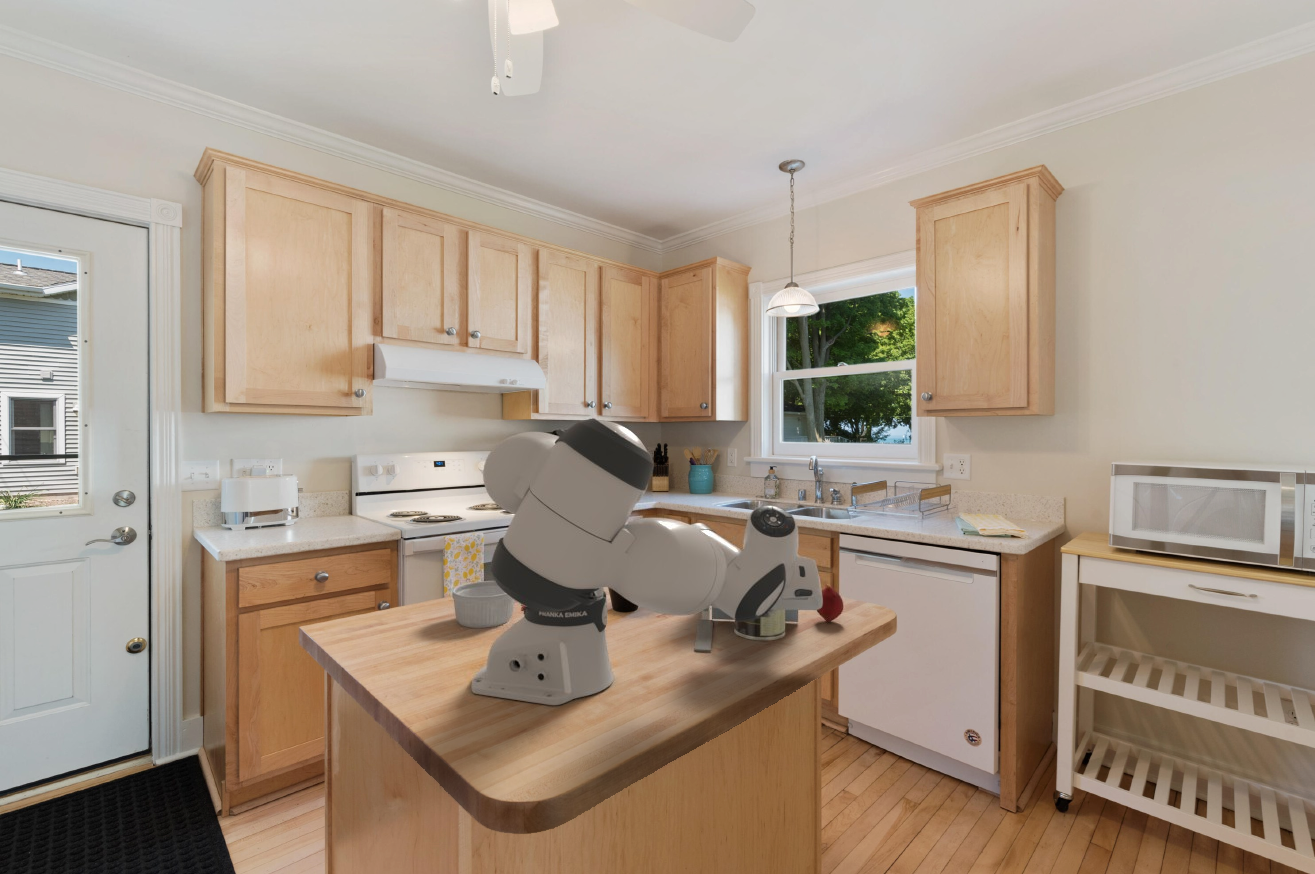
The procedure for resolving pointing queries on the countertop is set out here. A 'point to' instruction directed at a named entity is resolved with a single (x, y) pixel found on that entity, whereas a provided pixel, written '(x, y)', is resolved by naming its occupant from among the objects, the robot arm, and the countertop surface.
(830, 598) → the onion
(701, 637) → the door frame
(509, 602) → the ramekin
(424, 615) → the countertop surface
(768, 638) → the coffee can
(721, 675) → the countertop surface
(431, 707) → the countertop surface
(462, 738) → the countertop surface
